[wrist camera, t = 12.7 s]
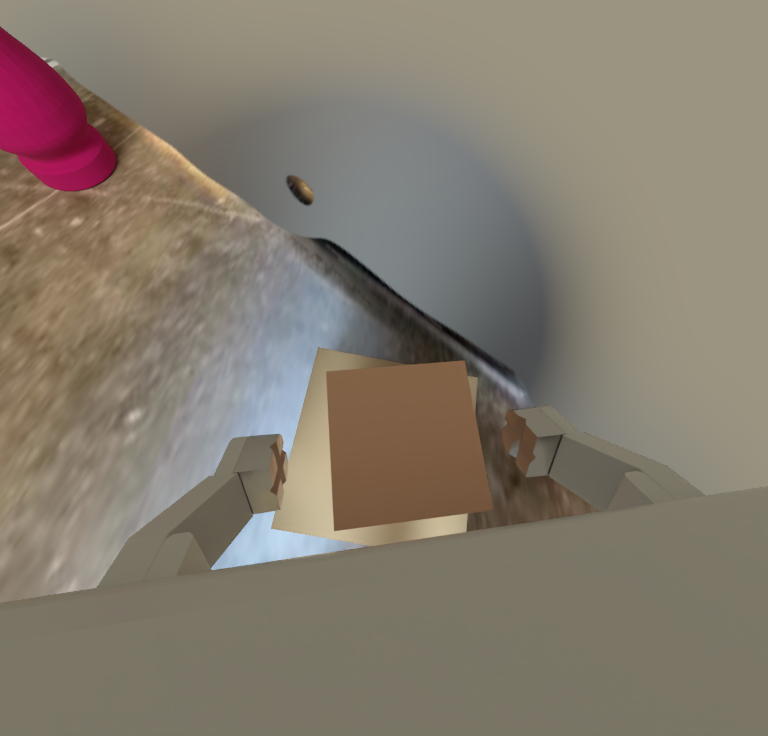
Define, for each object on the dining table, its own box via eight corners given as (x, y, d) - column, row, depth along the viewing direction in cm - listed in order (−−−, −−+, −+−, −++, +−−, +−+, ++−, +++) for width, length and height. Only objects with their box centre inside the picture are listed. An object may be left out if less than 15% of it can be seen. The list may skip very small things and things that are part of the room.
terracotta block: (347, 494, 15) (333, 531, 8) (342, 410, 17) (326, 371, 9) (430, 484, 16) (493, 509, 8) (419, 402, 17) (464, 360, 10)
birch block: (292, 511, 19) (271, 528, 15) (326, 370, 23) (318, 347, 18) (438, 536, 20) (463, 561, 15) (452, 394, 23) (477, 377, 18)
